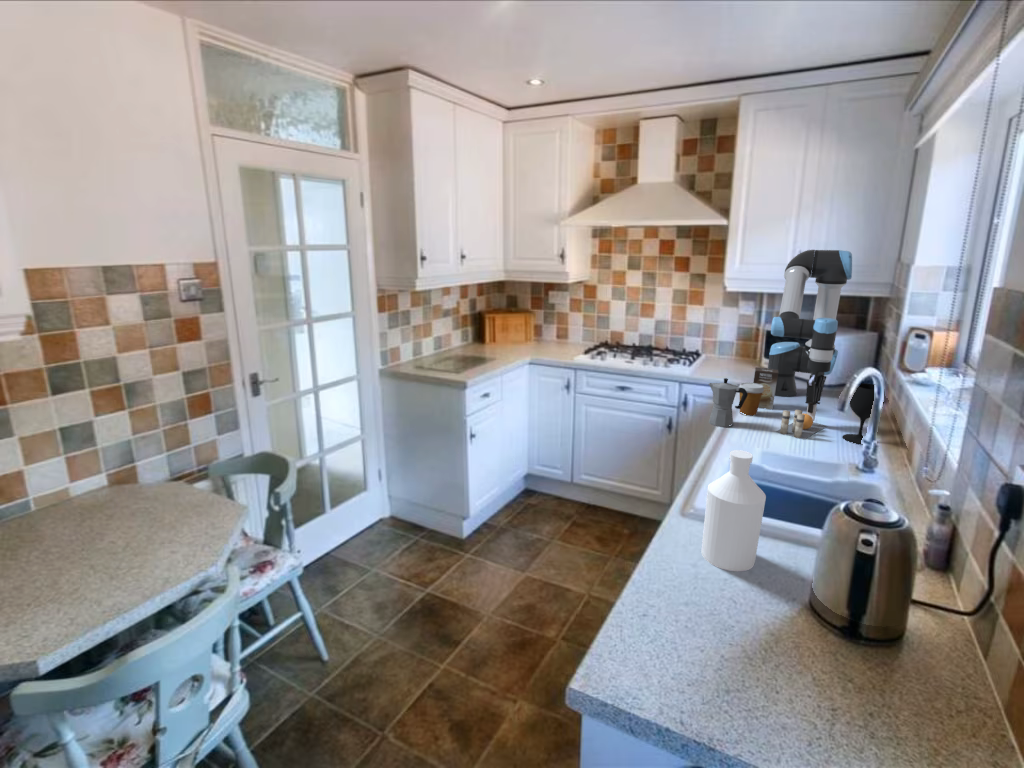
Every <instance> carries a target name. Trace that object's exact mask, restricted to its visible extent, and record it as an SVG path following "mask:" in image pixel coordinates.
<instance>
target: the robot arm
mask: <svg viewBox="0 0 1024 768" xmlns="http://www.w3.org/2000/svg"><path fill="white" fill-rule="evenodd" d="M852 275H853V254H852V252H851V251H848V250H841V249H839V250H837V249H824V250H823V249H808V250H805V251H802V252H800V253H799V254H797V255H795V256H794V257H793V258H792V259H791V260H790V261H789V262H788V264H787V265H786V267H785V270H784V275H783V277H784V279H785V281H784V288H783V293H782V298H781V304H780V309H779V313H778V316H774V317H772V321H771V327H770V334H771V335H772V336H773V337H780V338H792V339H793V338H794V339H797V338H798V339H804V340H805V339H807V340H808V341H806V342H805V345H804V346H801V345H800V343H799V342H796V341H782V342H781V341H780V342H776V343H773V344H772V345H771V346H770V349H769V354H768V355H769V356H768V357H769V358H768V363H767V369H774V370H778V378H777V384H776V390H775V396H778V397H794V396H796V395H797V391H798V390H797V389H798V388H797V384H796V377H795V376H796V373H801V374H810V375H809V379H807V380H806V393H805V394H806V396H805V404H807V408H806V413H805V414H808V415H810V416H811V417H812V419H813V422H815V418H816V414H817V406H818V405H820V404H821V402H820V401H821V398H822V395H823V390H824V385H825V382H826V380H827V376H828V375H830V374H831V373H832V372H833V370H834V368H835V365H836V362H837V357H838V354H839V350H838V349H835V348H836V345H835V342H836V337H837V332H838V324H839V321H838V320H837V314H838V309H839V305H840V299H841V293H842V292H841V291H842V288H843V287H844V286H845V285H847V284H848V283H847V282H848V281H849V280H851V279H852V278H853V277H852ZM809 278H811V279H814V283H815V284H816V285H817V286H818V289H817V294H816V301H815V306H814V313H813V319H810V318H809V319H808V318H806V319H805V318H801V312H802V307H803V300H804V292H805V288H806V282H807V281H808V280H809Z"/></svg>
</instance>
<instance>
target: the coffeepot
mask: <svg viewBox="0 0 1024 768" xmlns="http://www.w3.org/2000/svg"><path fill="white" fill-rule="evenodd" d="M728 380H729V378H723V382H709V383H708V384H707V385H708V386H709V387H710V390H711V391H712V402H713V406H712V409H711V413H710V416H709V419H708V423H709V424H710V425H712V426H714V427H718V428H719V427H720V428H729V427H728V426H729V425H731V424H732V423H734V420H733V404H734V402H735V401H734V400H735V397H736V395H737V393H739V394H740V393H743V395H742V397H741V400H740V399H739V402H738V405H734V409H736V410H740V409H741V407H742V405H743V403H744V401H745V399H746V398H747V396H748V393H747V392H746V390H745V389H744V388H740V387H739V386H737V385H735V384H732V383H729V382H728Z"/></svg>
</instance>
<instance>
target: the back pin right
mask: <svg viewBox="0 0 1024 768" xmlns="http://www.w3.org/2000/svg"><path fill="white" fill-rule="evenodd" d="M790 418H791V411H790V410H786V409H785V410H784V409H783V411H782V414H781V423H780V429H779V430H780V433H779V434H780V435H785V434H787V431H788V425H789V423H790Z"/></svg>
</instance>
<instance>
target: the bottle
mask: <svg viewBox="0 0 1024 768" xmlns="http://www.w3.org/2000/svg"><path fill="white" fill-rule="evenodd" d="M753 458H754V457H753V454H752V453H751V452H748V451H746V450H740V449H735V450H734V449H733V450H731V451H730V452H729V460H730V464H729V471H727V472H726V473H725V474H723V475H722V476H720V477H719V478H717V479H715V480H713V481H711V482H710V483H709V484H708V485H707V491H706V493H707V494H706V502H705V513H704V520H703V521H704V523H703V532H702V542H701V549H700V550H701V551H700V552H701V555H702V557H703V559H704V560H705V561H707V563H709V564H711V565H712V566H714V567H717V568H719V569H721V570H725V571H731V572H745V571H748V570H749V571H750V570H751V569H752V568H753V567H754V566H755V563H756V558H757V557H756V556H757V551H758V545H759V539H760V534H761V528H762V522H763V517H764V516H763V515H764V510H765V505H766V499H767V495H766V493H765V492H764V491H763V490H762V489H761V487H759V485H757V483H756V482H755V481H754V480H753V478H752V477H751V476H750V474H749V473H750V466H751V463H752V462H753Z"/></svg>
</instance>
